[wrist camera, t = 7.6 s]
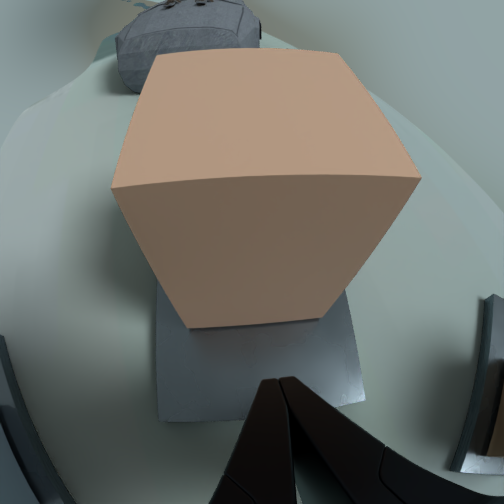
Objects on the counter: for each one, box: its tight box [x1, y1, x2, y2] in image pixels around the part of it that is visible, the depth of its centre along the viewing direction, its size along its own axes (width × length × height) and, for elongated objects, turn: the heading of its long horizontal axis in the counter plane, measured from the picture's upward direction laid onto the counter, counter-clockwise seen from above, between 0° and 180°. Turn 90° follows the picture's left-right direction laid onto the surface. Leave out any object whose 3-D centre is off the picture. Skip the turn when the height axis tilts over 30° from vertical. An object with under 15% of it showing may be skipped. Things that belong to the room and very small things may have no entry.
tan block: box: [111, 48, 422, 328], centre depth 10 cm, size 6×6×9 cm
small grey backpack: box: [115, 0, 261, 93], centre depth 25 cm, size 15×8×20 cm
